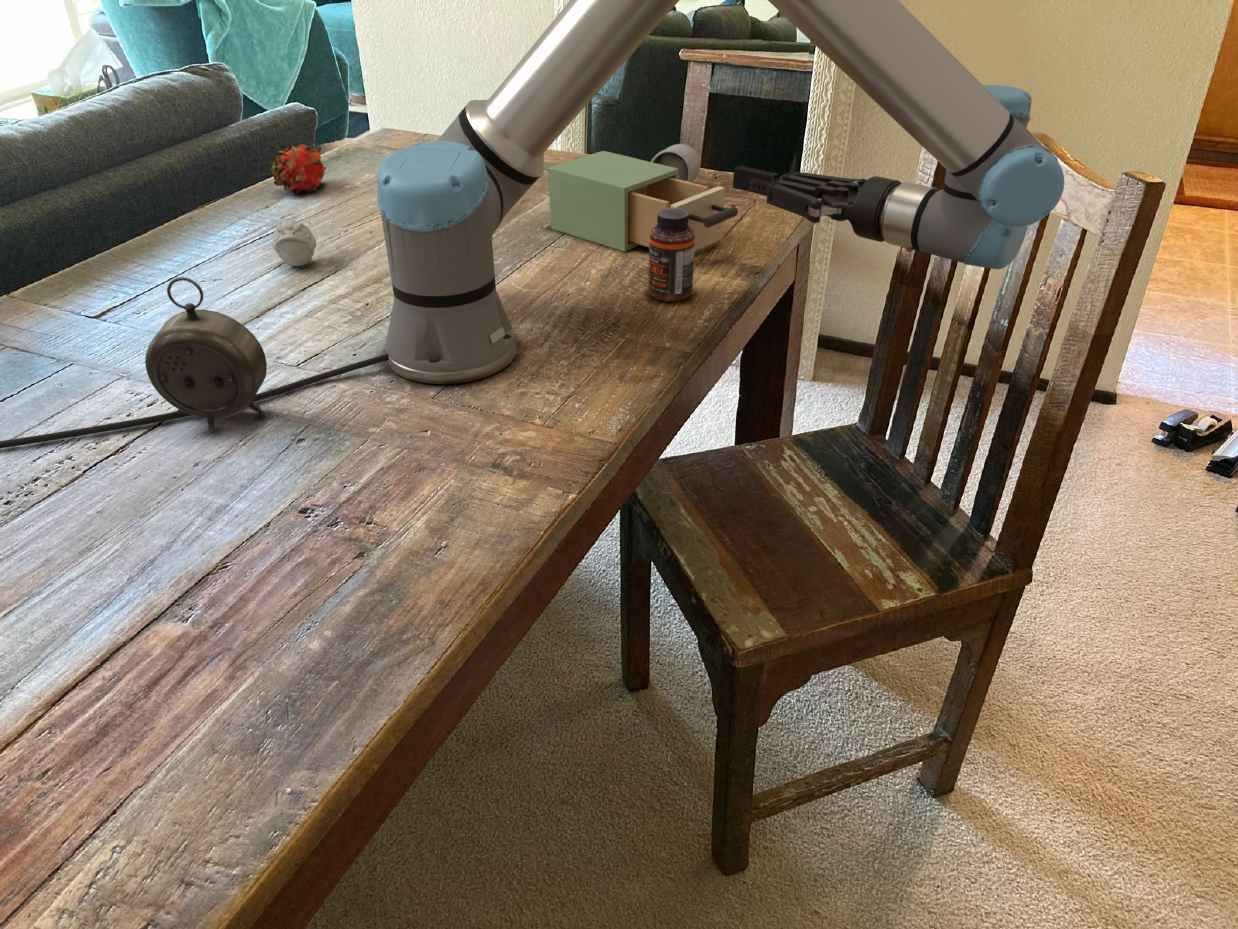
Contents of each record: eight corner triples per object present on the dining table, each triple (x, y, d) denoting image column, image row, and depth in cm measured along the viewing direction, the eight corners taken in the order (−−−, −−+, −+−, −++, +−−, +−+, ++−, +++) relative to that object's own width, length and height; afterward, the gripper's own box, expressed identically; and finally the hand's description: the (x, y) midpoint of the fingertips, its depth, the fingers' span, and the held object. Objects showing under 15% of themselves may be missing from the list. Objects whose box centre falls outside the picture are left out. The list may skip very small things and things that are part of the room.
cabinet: (677, 229, 146) (678, 168, 141) (624, 251, 139) (624, 187, 133) (604, 208, 155) (603, 150, 150) (550, 228, 147) (548, 167, 142)
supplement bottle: (639, 294, 125) (639, 212, 119) (668, 282, 129) (670, 201, 123) (671, 307, 122) (674, 223, 116) (701, 294, 125) (705, 212, 119)
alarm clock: (280, 408, 100) (245, 266, 91) (264, 434, 96) (226, 288, 87) (179, 409, 100) (135, 267, 91) (158, 435, 96) (110, 289, 87)
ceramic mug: (701, 184, 166) (703, 140, 161) (689, 197, 159) (690, 152, 155) (645, 179, 169) (645, 136, 164) (631, 193, 162) (630, 148, 158)
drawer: (745, 245, 138) (748, 193, 134) (698, 267, 131) (701, 212, 127) (649, 217, 148) (649, 168, 144) (601, 236, 141) (600, 185, 137)
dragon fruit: (278, 209, 160) (320, 199, 170) (309, 183, 156) (350, 174, 166) (249, 166, 159) (293, 157, 169) (279, 138, 155) (322, 131, 165)
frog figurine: (274, 276, 131) (263, 228, 127) (279, 258, 137) (269, 212, 133) (318, 273, 132) (309, 225, 128) (322, 255, 138) (313, 209, 134)
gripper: (863, 256, 112) (706, 215, 125) (912, 228, 120) (761, 192, 133) (871, 195, 108) (709, 159, 121) (922, 169, 116) (765, 138, 129)
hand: (736, 176), depth 127 cm, fingers closed
